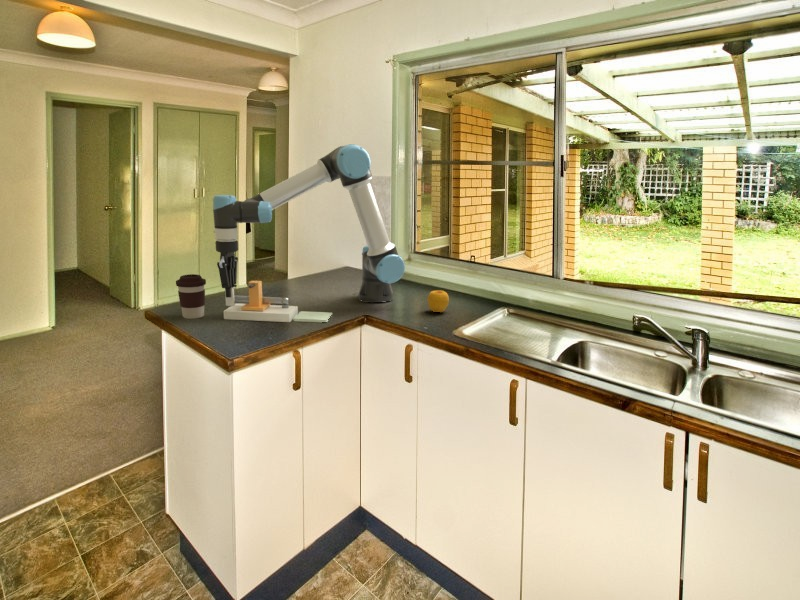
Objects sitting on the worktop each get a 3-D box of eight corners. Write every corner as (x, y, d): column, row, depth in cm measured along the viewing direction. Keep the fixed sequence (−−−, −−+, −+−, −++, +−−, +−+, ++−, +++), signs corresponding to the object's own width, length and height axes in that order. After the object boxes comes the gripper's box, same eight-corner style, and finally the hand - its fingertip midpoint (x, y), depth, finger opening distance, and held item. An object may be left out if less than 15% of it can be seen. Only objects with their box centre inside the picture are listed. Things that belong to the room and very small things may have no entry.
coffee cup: (184, 312, 187) (180, 273, 183) (211, 312, 188) (208, 273, 184) (174, 320, 177) (171, 278, 174) (203, 320, 178) (200, 278, 174)
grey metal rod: (289, 302, 187) (289, 297, 187) (287, 304, 184) (287, 299, 184) (235, 300, 188) (235, 295, 188) (232, 301, 186) (232, 296, 185)
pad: (332, 315, 189) (332, 312, 189) (326, 322, 179) (326, 320, 179) (300, 313, 190) (300, 311, 189) (293, 321, 180) (293, 318, 180)
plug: (270, 313, 188) (269, 280, 185) (262, 320, 179) (260, 285, 176) (249, 312, 189) (248, 279, 186) (240, 319, 180) (238, 284, 177)
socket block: (297, 313, 189) (297, 302, 188) (289, 322, 179) (289, 310, 178) (235, 311, 191) (235, 300, 190) (224, 319, 180) (223, 307, 179)
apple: (442, 316, 191) (443, 293, 189) (422, 312, 196) (423, 290, 194) (451, 311, 198) (453, 289, 196) (433, 308, 203) (434, 287, 201)
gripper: (223, 237, 182) (227, 300, 188) (207, 242, 169) (212, 309, 175) (244, 238, 182) (247, 301, 187) (229, 242, 169) (233, 310, 175)
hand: (230, 305), depth 181 cm, fingers closed
